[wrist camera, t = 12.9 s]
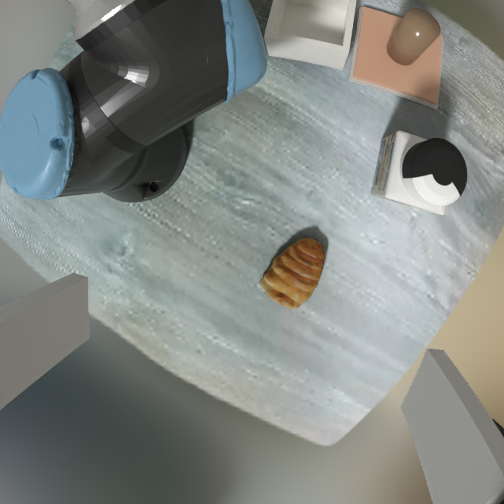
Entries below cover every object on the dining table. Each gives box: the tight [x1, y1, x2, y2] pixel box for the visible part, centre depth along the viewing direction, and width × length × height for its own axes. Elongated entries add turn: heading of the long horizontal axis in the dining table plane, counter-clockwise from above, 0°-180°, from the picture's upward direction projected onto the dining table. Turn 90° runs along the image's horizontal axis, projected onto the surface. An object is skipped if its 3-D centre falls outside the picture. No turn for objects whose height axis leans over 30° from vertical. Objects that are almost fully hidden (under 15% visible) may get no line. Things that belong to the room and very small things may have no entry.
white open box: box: [264, 0, 356, 70], centre depth 32 cm, size 10×10×6 cm
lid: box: [353, 7, 442, 105], centre depth 29 cm, size 12×12×10 cm
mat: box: [348, 7, 443, 110], centre depth 34 cm, size 13×13×1 cm
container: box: [371, 130, 467, 215], centre depth 31 cm, size 8×8×13 cm
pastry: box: [260, 238, 325, 308], centre depth 41 cm, size 9×7×4 cm
